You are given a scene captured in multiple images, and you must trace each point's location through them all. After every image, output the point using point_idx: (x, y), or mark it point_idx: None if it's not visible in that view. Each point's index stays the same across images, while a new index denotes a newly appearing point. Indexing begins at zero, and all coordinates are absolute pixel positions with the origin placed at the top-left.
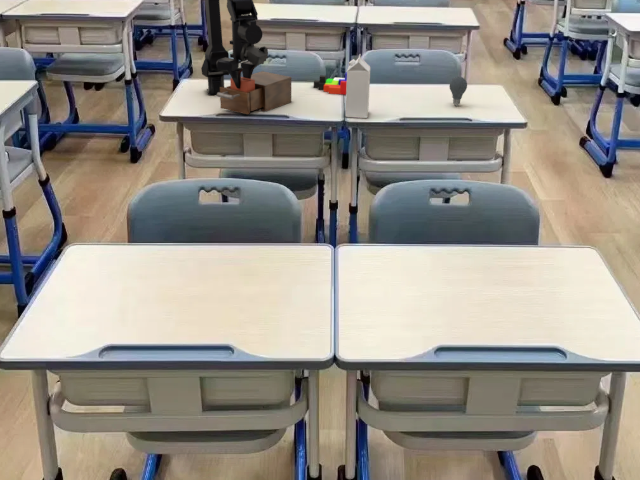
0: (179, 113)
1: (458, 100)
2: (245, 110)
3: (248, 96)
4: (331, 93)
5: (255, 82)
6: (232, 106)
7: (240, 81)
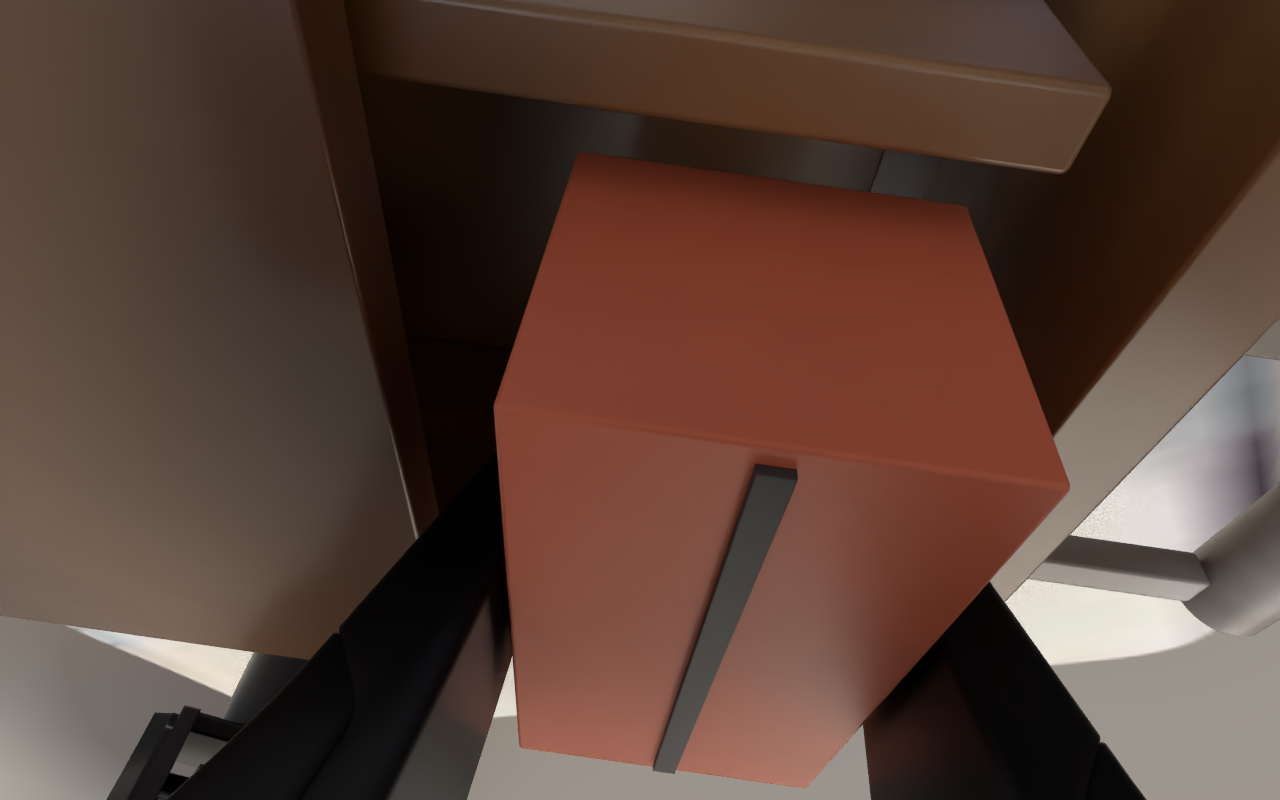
0: (1100, 604)
1: None
2: None
3: None
4: None
5: (275, 372)
6: None
7: (951, 635)
